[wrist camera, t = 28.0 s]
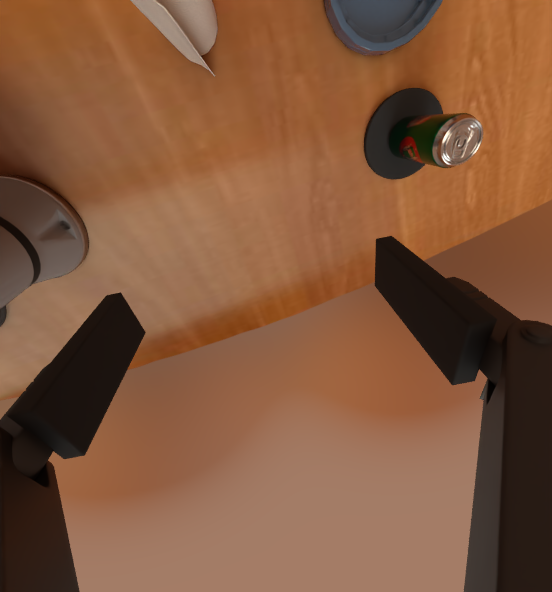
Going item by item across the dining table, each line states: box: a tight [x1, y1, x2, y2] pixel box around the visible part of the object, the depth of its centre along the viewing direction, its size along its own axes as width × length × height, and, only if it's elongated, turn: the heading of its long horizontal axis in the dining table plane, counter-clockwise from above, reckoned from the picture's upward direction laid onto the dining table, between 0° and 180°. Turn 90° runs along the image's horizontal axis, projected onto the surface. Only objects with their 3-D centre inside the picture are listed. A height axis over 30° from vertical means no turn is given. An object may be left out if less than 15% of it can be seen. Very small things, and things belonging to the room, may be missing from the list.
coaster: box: [364, 88, 443, 179], centre depth 38 cm, size 11×11×1 cm
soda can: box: [389, 113, 483, 168], centre depth 32 cm, size 5×5×12 cm
